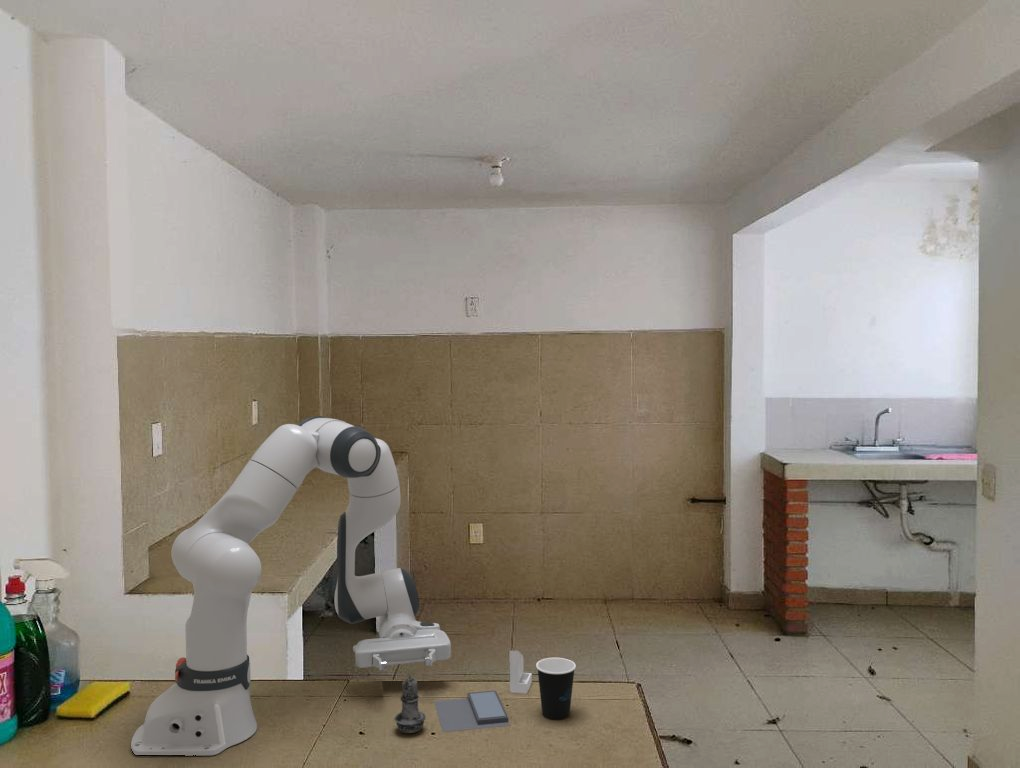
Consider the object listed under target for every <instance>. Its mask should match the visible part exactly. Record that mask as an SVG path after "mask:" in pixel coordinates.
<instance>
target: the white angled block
mask: <svg viewBox="0 0 1020 768" xmlns="http://www.w3.org/2000/svg"><path fill="white" fill-rule="evenodd" d="M532 676H533V675H532V672H531V673H530V672H524V655H523V654H522V653H521V652H520V651H519V650H509V693H512V694H513V693H515V694H523V695H525V694H528V692H529V690H530V688H531V686H532V682H533V680H532V678H533V677H532Z"/></svg>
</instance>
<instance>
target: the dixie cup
mask: <svg viewBox="0 0 1020 768" xmlns="http://www.w3.org/2000/svg"><path fill="white" fill-rule="evenodd" d="M535 667H536V669H537V677H538V687H539V694H540V695H539V697H540V704H541V713H542V716H543V717H545V718H546V719H549V720H555V721H556V720H557V721H558V720H565V719H566V718H568V717H570V715H571V714H570V713H571V712H570V710H571V704H572V694H573V687H574V677H575V669H576V667H577V665H576V663H575V662H574V661H573V660H570V659H567V658H564V657H547V658H542V659H539V660H538V661H537V662H536V664H535Z"/></svg>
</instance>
